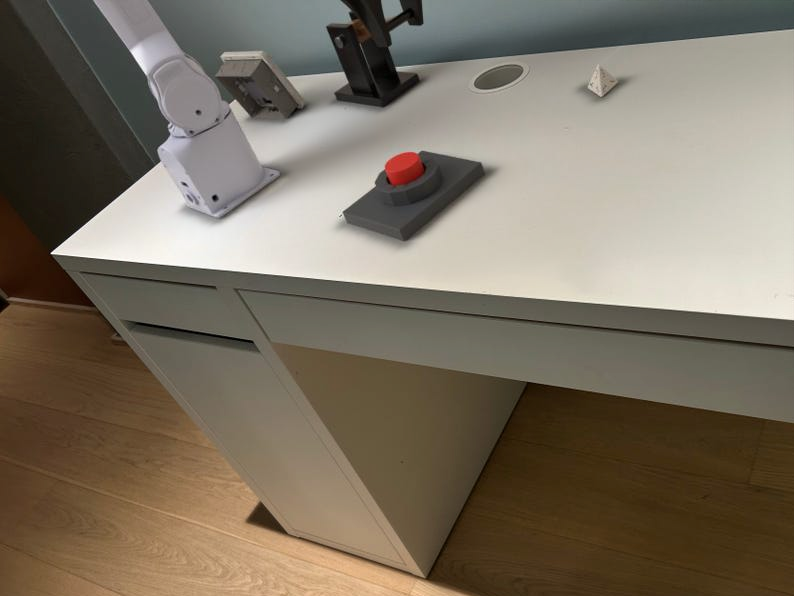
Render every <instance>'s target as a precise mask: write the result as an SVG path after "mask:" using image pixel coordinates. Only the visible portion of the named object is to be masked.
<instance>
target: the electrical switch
mask: <svg viewBox="0 0 794 596" xmlns="http://www.w3.org/2000/svg"><path fill="white" fill-rule="evenodd" d="M219 57H220V59H221V61H222V62H223V63H222V65H221V66H220V68H219V70H218V71H217V73H216V74H215V78H216V80H218V82H219V83H220V84H221V85H222V86H223V87H224V88H225V89H226V91H227V92H228V93H229V94H230V95H231V96H232V97H233V99H235V101H236V102H237V103H238V104H239V105H240V107H242V109H243V111H245V112H246V113H247V114H248V115H249V116H250V118H253V117H254V118H269V119H286V120H287V119H288V118H289V117H290V115H291V114H293V112H294V111H295V109H304V107H305V105H306V100H305V99H304V97H302V95H301V94H300V93H299V91H298V90H297V88H295V86H294V85H293V84H292V82H291V81H290V80H289V79H288V78H287V76H286V74H285V73H284V72H283V71H282V69H281V68H280V67H279V66H278V65H277V63H276V62H275V61H274V60H273V58H272V57H271V55H269V53H267V52H266V51H264V50H250V51H248V50H247V51H224V52H223V53H222V54H221V55H220V56H219Z"/></svg>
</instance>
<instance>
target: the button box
mask: <svg viewBox="0 0 794 596" xmlns="http://www.w3.org/2000/svg"><path fill="white" fill-rule="evenodd" d="M417 154H418V155H419V157H420V160H421V163H422V165H423V168H424V174H423V175H422V176H420V177H419V178H418V179H417V180H415V181H413V182H410V183H408V184H404V185H397V186H394V185H392V184H391V183H390V180H389V178H388V175H387V173H386V171H385V168H384V169H383V170H381V171H380V172H378V175H377V177H376V178H375V180H374V185H375V186H374V187H373V188H371V189H370V190H368V191H367V192H366V193H365V194H363V195H362V196H361V197H360V198H358V199H357V200H355V202H353V203H352V204H350V206H348V207H347V208H346V209H344V210H343V211H341V212H342V214H343V217H344V219H345V221H346V223H347V224H350V225H352V226H355V227H359V228H362V229H365V230H367V231H371V232H375V233H377V234H381V235H384V236H385V237H388V238H389V237H390V238H393V239H395V240H399V241H402V242H406V241H407V240H408V239H409V238H411V237H412V236H413V235H414V234H415V233H417V232H418V231H419V230H420V229H421V228H422V227H424V226H425V225H426V224H427V223H428V222H430V221H431V220H432V219H433V218H434V217H435V216H437V215H438V214H440V213H441V212H442V211H443V210H444V209H445V208H447V206H449V205H450V204H451V203H452V202H454V201H455V200H456V199H457V198H458V197H459V196H460V195H462V194H463V193H464V192H465V191H466V190H468V189H469V188H470V187H471V186H472V185H474V184H475V183H476V182H478V181H479V180H480V179H481V178H482V177H483V176H484V175H485V170H484V166H483V163H482V162H481V161H476V160H471V159H466V158H462V157H457V156H451V155H446V154H441V153H437V152H431V151H427V150H420V151H419V152H417Z"/></svg>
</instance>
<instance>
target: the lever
mask: <svg viewBox="0 0 794 596" xmlns="http://www.w3.org/2000/svg"><path fill="white" fill-rule="evenodd" d="M413 16H414V13H413V10H412V9H411V8H408V9H406V10H404V11H403V10H402V12H400V13H398V14H397V15H394V16H392V17H387V18H385V21H386V24H387V27H388V30H389V33H391V32H392V31H394V30H395V29H396V28H399V27H400V26H401V25H402V24H404V23H406V22H407V20H409V19H410V18H412V17H413ZM346 24H352V25H353V28H354V30H355V33H356V36H357V38H358V41H359V44H360V45H361V43H362V42H364V41H365V40H367V39H368V38H370V37H371V35H370V33H369V32H368V30H367V29H366V28H365V26H364V25H363V23H362V22H361V21H360V20H359V19H356V20H352V21H351V20H350V21H349V22H347V23H346Z"/></svg>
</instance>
